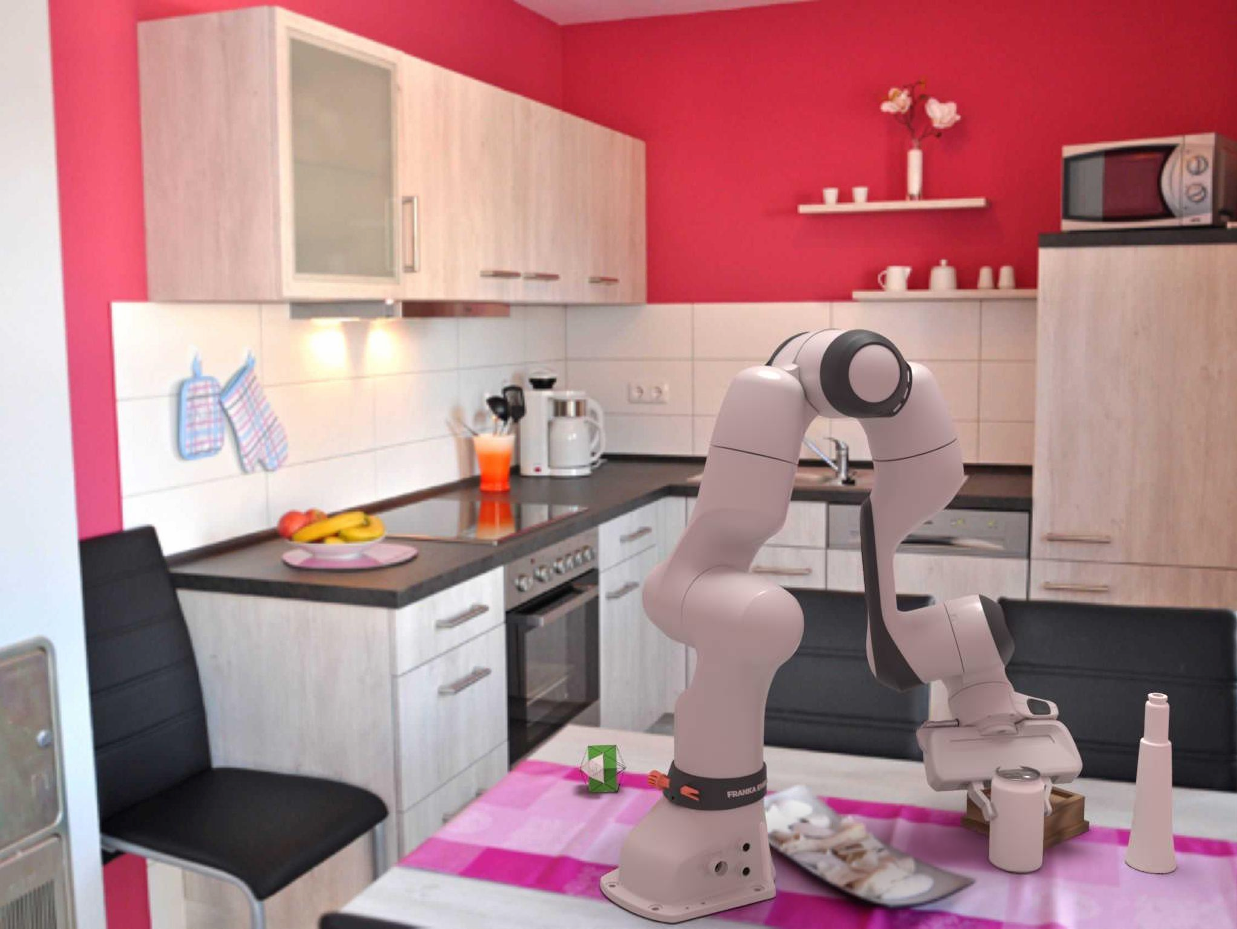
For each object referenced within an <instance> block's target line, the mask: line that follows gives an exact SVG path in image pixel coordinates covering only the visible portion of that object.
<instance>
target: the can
mask: <svg viewBox="0 0 1237 929" xmlns="http://www.w3.org/2000/svg"><path fill="white" fill-rule="evenodd" d="M1019 766H1020V767H1021V768H1023V769H1010V770H1000V771H999V769H1000V767H998V768H996V769H995V773H996V774H995V776H994V777H993V779H992V783H991V802H993V803H994V806H995V809H996V811H997V813H998V816H997V817H996V818H995V819H994V820H990V836H989V840H988V842H989V843H988V844H989V846H988V847H989V848H988V851H989V852H988V853H989V854H988V855H989V856H988V858H989V861H990V862H991V864H992V865H993V866H994V867H995V868H997V869H999V870H1001V871H1004V872H1008V873H1014V874H1030V873H1033V872H1036V871H1038V870H1039V869H1040V868H1041V866H1042V865H1043V828H1044V784H1043V782H1042V780H1041V776H1042V775H1041V773H1040V772H1039V771H1038V770H1036V769H1034V768H1031V767H1027V766H1021V765H1019Z"/></svg>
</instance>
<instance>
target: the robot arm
mask: <svg viewBox="0 0 1237 929" xmlns="http://www.w3.org/2000/svg"><path fill="white" fill-rule="evenodd" d="M819 416H820V417H823V418H828V419H847V418H853V419H856V420H857V421H858V422H859V424H860V425H861V427H862V428H863V431H864V433H865V435H866V439H867V444H868V447H869V448H868V449H869V452H870V456H871V461H872V464H873V471H874V475H873V476H874V478H873V485H872V488H871V492H870V495H869V496H867V497H866V499H865V500H863V501H862V503H861V505H860V509H859V510H860V511H859V535H860V554H861V564H862V574H863V585H864V586H863V588H864V600H865V605H866V615H867V631H866V644H865V645H866V646H865V647H866V657H867V661H868V665H869V668H870V670H871V672H872V674H873V676H874V677H875V678H876V679H875V680H876V681H878V682H879V683H880V684H882V685H884V686H885V687H887V688H889V689H892V690H894V691H896V692H899V693H904V692H906V691H910V690H913V689H916V688H919V687H922V686H926V684H928V683H932V682H937V681H941V682H942V683H943V685H944V687H945V688H946V691H947V692H946V693H947V706H948V709H949V712H950V715H951V719H943V720H938V721H937V720H926V721H924V722H923V724H921V725H920V726H918V727H917V729H916V731H915V734H916V740H917V744H918V747H919V748H920V750H921V751H922V753H923V754H922V756H923V766H924V770H925V776H926V781H927V784H928V786H929V787H930V788H931V789H933V791H935V792H939V793H940V792H954V791H967V792H968V795H969V797H970V799H971V800H972V801H973V802H974V803H975V804H976V805H977V806H978V807H979V808H980V809H982V812H983V816H984V819H985V820H986V821H990V820H994V819H995V818H996V817H997V816H998V813H997V811H996V809H995V806H994V803H993V802H990V801H989V800H988V798H987V797H986V796H985V795H984V794H983V793H982V791H983V790H984V789H986V788H991V783H992V779H993V777H994V776H995V774H996V773H995V769H996V768H998V767H1000V769H999V771H1000V770H1010V769H1023V768H1021V767H1020V766H1019V765H1021V766H1027V767H1031V768H1034V769H1036V770H1038V771H1039V772H1040V773H1041V775H1042V776H1041V780H1042V782H1043V784H1044V817H1048V816H1049V815H1050V814H1051V813H1052V808H1051V805H1050V802H1049V797H1050V793H1051V789H1052V786H1053V785H1063V784H1072V783H1073V782H1074V781H1075V780H1076V779H1077V778H1078V776H1079V775H1080V773H1081V771H1082V769H1083V762H1082V761H1083V760H1082V758H1081V755H1080V752H1079V750H1078V747H1077V745H1076V742H1075V741H1074V739H1073V735H1071V733H1070V731H1069V729H1068V728H1067V727H1066V725H1064V723H1062V722H1061V721H1059V720H1057V718H1058V716H1059V709H1058V706H1057V704H1056V703H1054V702H1053V701H1051V700H1046V699H1042V698H1037V697H1033V696H1030V695H1026V694H1023V693H1020V692H1018V691H1015V689H1014V686H1013V685H1012V683H1011V682H1010V680H1009V678H1008V677H1007V674H1006V671H1005V670H1006V669H1005V668H1006V666H1008V664H1009V663H1010V660H1011V658H1012V656H1013V653H1014V651H1015V650H1016V649H1015V648H1016V645H1015V642H1014V639H1013V637H1012V635H1011V633H1010V630H1009V628H1008V626H1007V624H1006V621H1005V615H1004V610H1003V607H1002V605H1001V604H999V603H998V602H996V601H995V600H993V599H991V598H989V597H988V596H986V595H983V594H971V595H966V596H965V595H964V596H962V597H957V598H954V599H950V600H945V601H943V602H940V603H937V604H933V605H929V606H923V607H921V608H917V609H912V610H908V611H901V610H899V609H898V605H897V593H896V583H895V582H896V581H895V571H894V570H895V569H894V558H895V553H896V551H897V548H898V547H899V545H900V544H901V543H902V541H904V540H905V539H906V538H907V537H908V536H909V535H910V534H911V533H913V532H914V531H915V530H917V529H918V528H920V527H921V526H922V525H923V524H925V523H926V522H928V521H930V520H931V519H932V518H934V517H935V516H937V515H938V514H940V512H942V511H943V510H944V509H945V508H946V507H947V506H949V504H950V503H951V502H952V501H953V499H954V498H955V497H956V495H957V494H958V492H959V490H960V488H961V485H962V483H963V480H964V477H965V476H964V474H965V472H964V469H965V468H964V463H963V455H962V450H961V446H960V442H959V437H958V434H957V431H956V427H955V424H954V420H953V417H952V415H951V412H950V409H949V406H948V404H947V401H946V399H945V397H944V395H943V391H942V389H941V387H940V386H939V384H938V381H937V380H936V378H935V376H934V374H933V373H932V371H931V370H930V369H929V368H928V367H926V366H925V365H923V364H921V363H919V362H915V361H908V360H907V361H906V360H905V358H904V356H903V354H902V352H901V351H900V350H899V348H898V347H897V346H896V345H895V344H894V343H893V342H892V341H891V340H890V339H889V338H888V337H886V336H884V335H882V334H880V333H877V332H876V331H875V332H874V331H873V330H872V331H871V330H869V329H863V328H862V329H861V328H860V329H859V328H857V329H842V328H835V327H833V328H831V327H830V328H822V329H818V330H813V331H803V332H799V333H797V334H793V335H792V336H790V337H789V338H786V339H785V340H784V341H783V342H781V344H779V346H777V348H776V349H775V350H774V351H773V353H772V354H771V356H770V358H769V360H768V361H767V362H766V363H765V364H764V365H756V366H755V365H754V366H750V367H747V368H744V369H742V370H740V371H739V372H738V373H737V374H736V375H735V376H733V378H732V380H731V382H730V384H729V386H728V388H727V390H726V392H725V395H724V397H723V401H722V403H721V406H720V408H719V412H718V414H717V417H716V420H715V422H714V423H715V424H714V427H713V431H712V434H711V439H710V443H709V447H708V451H707V452H708V453H707V456H706V460H705V465H704V468H703V473H702V478H701V481H700V486H699V490H698V493H697V498H696V500H695V501H696V502H695V504H694V507H693V510H692V512H691V514H690V517H689V520H688V521H687V524H686V525H685V528H684V530H683V532H682V533H681V536H680V537H679V538H678V540H677V542H676V544H675V546H674V548H673V549H672V550H671V552H670V554H669V555H668V556H667V557H666V558H665V559H664V560H662V561H661V562H660V563H658V564H657V565H656V566H654V568H652V570H651V571H650V572H649V574H648V575H647V577H646V579H645V581H644V583H643V588H642V592H641V602H642V608H643V612H644V614H645V615H646V618H647V619H648V620H649V621H650V623H652V624H653V625H654V626H655V627H656V628H657V629H658V630H659V631H660V632H662V634H664V635H665V636H666V637H668V639H669V638H670V640H673V641H674V642H676V643H679V644H683V645H684V646H688V647H690V648H692V649H694V650H695V654H696V664H695V670H694V672H693V673H694V674H693V677H692V680H691V683H690V685H689V687H687V688H686V689H684V690H683V691H682V692H681V693H680V694H679V695H678V696H677V698H676V700H675V702H674V706H673V712H674V713H673V715H674V716H673V717H674V718H673V722H674V724H673V727H674V728H673V744H674V745H673V759H672V760H671V763H670V766H669V769H668V772H667V774H666V773H662V772H660V771H658V770H656V769H653V770H651V771H650V772H649V773H648V775H647V779H646V781H647V784H648V785H649V787H652V788H656V789H657V790H659V791H662V796H660V798H659V799H658V800H657V801H656V802H655V804H654V805H653V806H652V807H651V808H650V809H649V811H647V812H646V814H644V816H643V817H642V818H641V819H640V821H638V822H637V824H636V825H635V826H634V827H633V828H632V829H631V830H630V831H629V832H628V833H627V834H626V835H625V837H624V839H623V842H622V846H621V849H620V853H619V854H620V856H619V864H618V865H619V866H618V867H617V868H616V869H614V870H611V871H610V872H607V873H606V874H604V875H602V876H601V877H600V883H599V887H600V889H601V891H602V893H603V894H604V895H605V896H606V897H607V898H608V899H610V900H611V901H612V902H613V903H615V904H616V905H618V906H620V907H622V908H624V909H626V910H627V911H629V912H631V913H634V914H636V915H639V916H642V917H644V918H647V919H651V920H653V921H654V920H655V921H659V922H664V923H673V924H674V923H678V922H683V921H687V920H691V919H694V918H698V917H699V918H700V917H703V916H706V915H710V914H714V913H718V912H723V911H725V910H729V909H734V908H737V907H741V906H742V907H743V906H746V905H749V904H753V903H757V902H760V901H764V900H769V899H772V898H774V897H776V895H777V892H776V891H777V890H776V885H775V882H774V881H775V879H776V876H777V872H776V868H775V865H774V862H773V858H772V855H771V854H772V853H771V849H770V842H769V841H770V840H769V832H768V823H767V817H766V811H765V810H766V808H765V797H766V795H767V792H768V782H769V781H768V780H769V779H768V776H767V775H768V774H767V772H768V770H767V764H766V762H765V761H764V747H765V746H764V745H765V744H764V743H765V742H764V739H765V737H764V736H765V713H766V704H767V701H768V700H767V698H768V694H769V690H770V687H771V685H772V682H773V679H774V677H775V675H776V673H777V671H778V669H779V668H780V667H781V666H782V665H783V664H784V663H786V662H787V661H789V660H790V658H791V657H792V656H794V654H795V652H796V651H797V649H798V648H799V646H800V643H801V641H802V637H803V636H804V635H803V634H804V628H805V620H804V619H805V617H804V613H803V609H802V607H801V605H800V603H799V600H797V598H796V597H795V596H794V594H793V595H792V594H791V593H790V592H789V591H788V590H786V589H784V588H783V587H782V586H780V585H779V584H778V583H776V582H774V581H773V580H771V579H770V578H768V577H766V576H763V575H759V574H755V573H752V572H749V571H750V568H751V566H752V564H753V562H754V559H755V558H756V556H757V555H758V553H759V551H760V550H761V548H762V546H764V544H765V543H766V542H767V541H768V540H769V539H772V537H774V536H776V535H777V534H778V533H779V532H781V530H782V529H783V527H784V526H785V523H786V521H787V515H788V512H789V507H790V503H791V498H792V494H793V489H794V484H795V479H796V474H797V470H798V467H799V466H798V465H799V461H800V457H801V456H800V455H801V453H802V452H801V450H802V445H803V439H804V437H805V435H806V433H807V430H808V429H809V427H810V426H811V424H812V422H813V421H814V420H815V419H816V418H817V417H819ZM967 792H966V793H967Z"/></svg>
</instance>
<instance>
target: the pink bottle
mask: <svg viewBox="0 0 1237 929" xmlns="http://www.w3.org/2000/svg"><path fill="white" fill-rule="evenodd" d="M1147 699H1148V700H1146V701H1145V708H1144V733H1143V737H1142V738H1141V739H1140V741H1139V748H1138V749H1139V750H1138V758H1137V759H1138V760H1137V770H1136V781H1135V791H1134V802H1133V810H1132V811H1133V813H1132V821H1131V827H1130V828H1131V829H1130V833H1129V839H1128V840H1129V841H1128V844H1127V850H1126V853H1125V857H1124V861H1125V863H1126V864H1127V865H1128V866H1129V867H1131V868H1133V869H1135V870H1137V871H1141V872H1143V871H1144V872H1143V873H1149V874H1156V873H1160V874H1161V873H1163V874H1168V873H1172V872H1174V871H1176V869H1177V859H1176V852H1175V844H1174V832H1173V830H1174V829H1173V828H1174V827H1173V769H1172V768H1173V766H1172V765H1173V764H1172V763H1173V760H1172V757H1173V755H1172V754H1173V753H1172V742H1171V741H1170V740H1169V724H1170V722H1169V720H1170V705H1169V703H1168V702H1167V701H1168V696H1167V695H1166V694H1163V693H1159V692H1153V693H1148V694H1147ZM1160 874H1159V875H1160Z"/></svg>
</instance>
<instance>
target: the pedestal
mask: <svg viewBox="0 0 1237 929" xmlns="http://www.w3.org/2000/svg"><path fill="white" fill-rule="evenodd" d="M982 793H983V794H984V795H985V796H986V797H987V798H988V800H989V801H990V802H991V788H986V789H984V790H983V791H982ZM1085 800H1086V796H1085V795H1083V794H1079V793H1075V792H1072V791H1069V790H1066V789H1063V788H1060V787H1057V786H1053V785H1052V789H1051V793H1050V797H1049V802H1050V805H1051V808H1052V813H1051V814H1050V815H1049V816H1048V817H1044V828H1043V851H1046V850H1048V849H1050V848H1052V847H1055V846H1057V845H1059V844H1061V843H1063V842H1066V841H1068V840H1070V839H1072V838H1074V837H1076V836H1079V835H1081V834H1083V833H1086V832H1088V831H1090V821H1089V820H1086V819H1085V806H1086V801H1085ZM965 812H966V814H964V815H963V816H961V817H960V827H964V828H966V829H969V830H973V831H974V832H975V831H976V832H978V833H980V834H984V835H986V836H989V837H990V821H986V820H985V819H984V816H983V812H982V809H980V808H979V807H978V806H977V805H976V804H975V803H974V802H973V801H972V800H971V799H970V797H969V795H968V792H966V810H965Z"/></svg>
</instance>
